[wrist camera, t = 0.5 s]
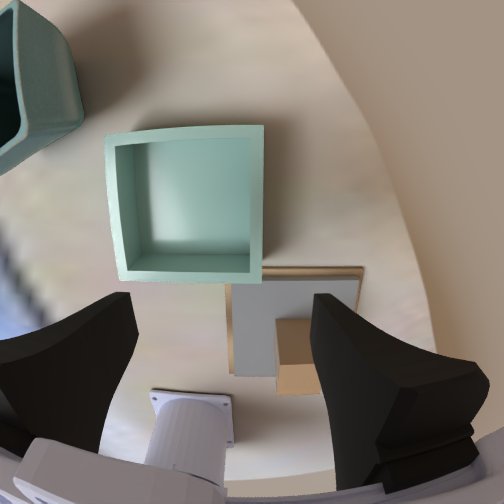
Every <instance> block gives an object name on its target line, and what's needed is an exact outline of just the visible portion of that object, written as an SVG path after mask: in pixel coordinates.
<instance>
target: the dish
mask: <svg viewBox="0 0 504 504" xmlns="http://www.w3.org/2000/svg"><path fill="white" fill-rule="evenodd" d="M104 151H105V170H106V183H107V195H108V205H109V214H110V223H111V230H112V238H113V245H114V251H115V258H116V264H117V269H118V275H119V280H121V281H147V282H181V283H234V284H262V242H263V167H264V125H214V126H192V127H177V128H164V129H153V130H143V131H134V132H126V133H119V134H111V135H105V136H104Z"/></svg>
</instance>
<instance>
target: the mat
mask: <svg viewBox="0 0 504 504" xmlns="http://www.w3.org/2000/svg"><path fill="white" fill-rule="evenodd" d="M344 275H356V276H357V277H358V279H359V286H358V292H357V298H356V303H355V308H354V312H355V313H356V309H357V304H358V298H359V293H360V287H361V281H362V275H363V268H362V267H342V268H271V267H262V276H344ZM225 294H226V318H227V338H228V357H229V374H234V351H233V325H232V295H231V283H225Z"/></svg>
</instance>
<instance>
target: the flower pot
mask: <svg viewBox="0 0 504 504" xmlns="http://www.w3.org/2000/svg"><path fill="white" fill-rule="evenodd" d="M83 119H84V111H83V106H82V102H81V97H80V92H79V88H78V82H77V76H76V70H75V65H74V61H73V58H72V54H71V51H70V48H69V46H68V43H67V41H66V39H65V38H64V36H63V35H62V33H61V32H60V31H59V30H58V28H57V27H56V26H54V25H53V24H52V23H51V22H50V21H48V20H47V19H46V18H44V17H43V16H41V15H40V14H39V13H37V12H36V11H34V10H33V9H32V8H30V7H29V6H27V5H26V4H24V3H23V2H21V1H20V0H13V1H11V2H10V3H9V4H8V5H7V6H5V7H4V8H3V9H2V10H1V11H0V176H1V175H3V174H5V173H6V172H8V171H9V170H11V169H13V168H14V167H16V166H17V165H18V164H20V163H21V162H23V161H24V160H25V159H27V158H28V157H30V156H31V155H33V154H35V153H36V152H38V151H39V150H41V149H42V148H44V147H46V146H47V145H49V144H51V143H52V142H54V141H56V140H57V139H59V138H61V137H63V136H64V135H66V134H68V133H70V132H72V131H73V130H75V129H77V128H78V127H79V126H80V125H81V124H82V122H83Z"/></svg>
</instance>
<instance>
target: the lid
mask: <svg viewBox="0 0 504 504" xmlns="http://www.w3.org/2000/svg"><path fill="white" fill-rule="evenodd" d="M358 286H359V279H358V277H357V276H356V275H344V276H262V284H234V283H231V295H232V325H233V351H234V375H235V376H248V377H272V376H276V386H277V396H281V395H307V394H320V390H321V385H320V381H319V378H318V375H317V371H316V368H315V365H314V361H313V357H312V351H311V344H310V338H309V337H310V328H311V319H312V309H313V299H314V293H330V294H332V295H333V296H335V297H336V298H337V299H339V300H340V301H341V302H342V303H344V304H345V305H346V306H347V307H349V308H350V309H351V310H353V311H354V308H355V303H356V298H357V292H358Z"/></svg>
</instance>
